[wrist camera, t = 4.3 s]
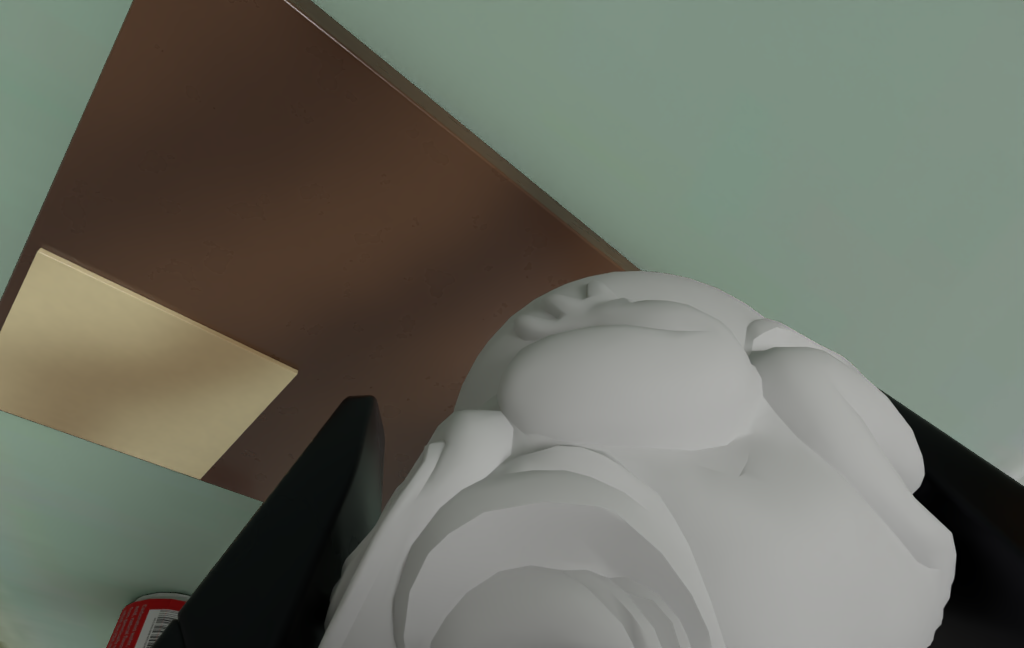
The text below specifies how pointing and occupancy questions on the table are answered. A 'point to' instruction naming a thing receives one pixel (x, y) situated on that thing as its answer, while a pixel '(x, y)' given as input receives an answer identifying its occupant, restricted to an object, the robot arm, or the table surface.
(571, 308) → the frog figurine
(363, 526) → the robot arm
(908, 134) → the table surface
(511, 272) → the board
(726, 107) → the table surface
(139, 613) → the soda can
